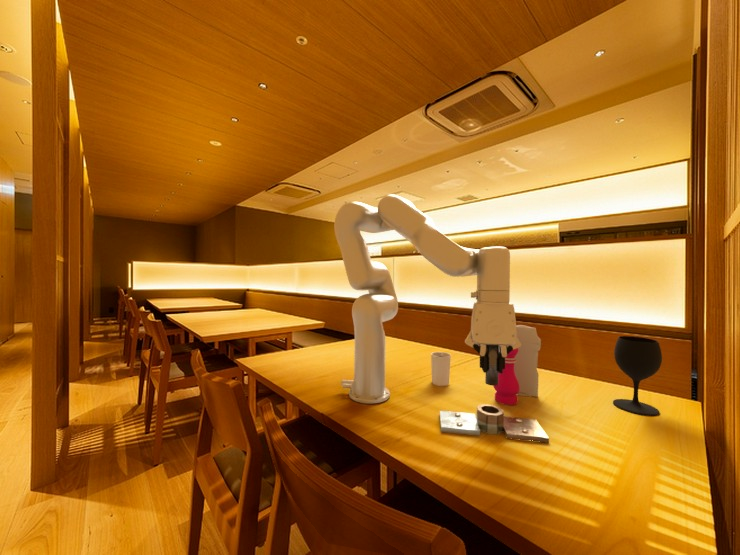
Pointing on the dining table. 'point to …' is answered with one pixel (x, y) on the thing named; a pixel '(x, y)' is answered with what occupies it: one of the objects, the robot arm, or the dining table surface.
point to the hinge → (491, 424)
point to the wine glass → (637, 369)
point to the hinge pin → (492, 365)
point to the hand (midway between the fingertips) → (492, 370)
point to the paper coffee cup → (440, 368)
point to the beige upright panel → (527, 361)
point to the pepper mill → (508, 382)
